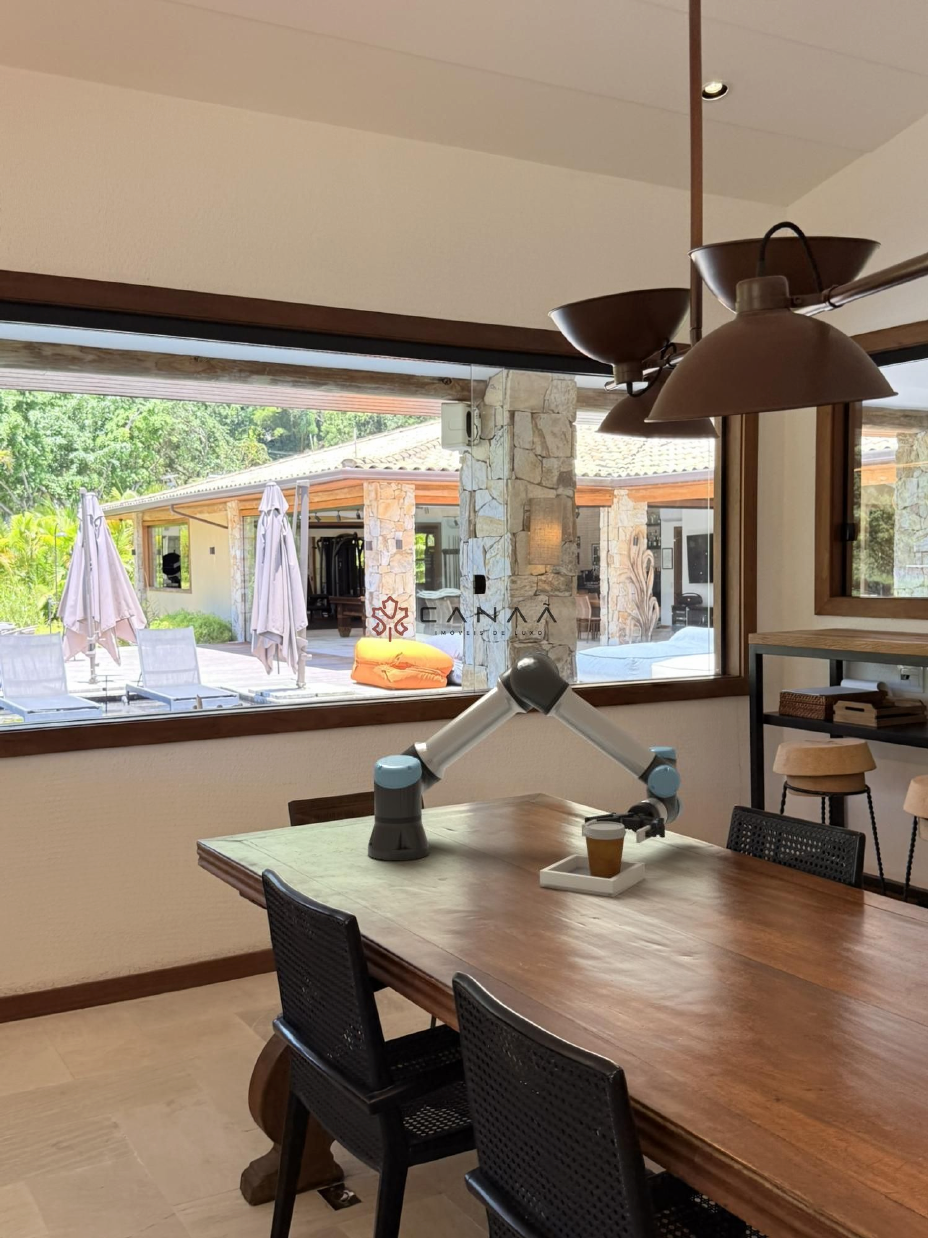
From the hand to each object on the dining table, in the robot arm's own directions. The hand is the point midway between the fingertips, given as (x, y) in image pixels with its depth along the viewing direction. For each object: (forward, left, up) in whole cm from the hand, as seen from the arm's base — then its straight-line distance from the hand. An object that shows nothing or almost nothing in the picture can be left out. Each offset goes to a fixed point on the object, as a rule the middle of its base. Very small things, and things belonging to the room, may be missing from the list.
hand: (610, 833), depth 265 cm
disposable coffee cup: (+2, -8, -8) cm, 12 cm away
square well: (0, -9, -9) cm, 13 cm away
